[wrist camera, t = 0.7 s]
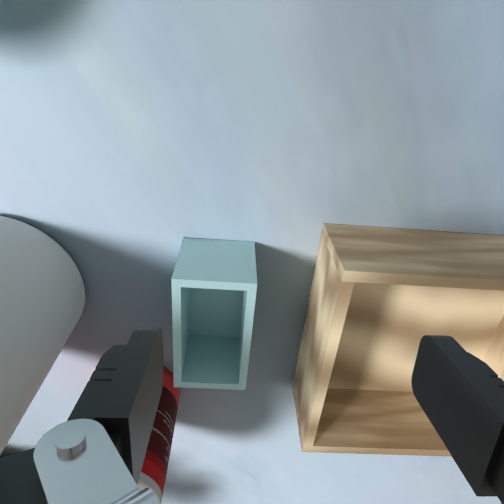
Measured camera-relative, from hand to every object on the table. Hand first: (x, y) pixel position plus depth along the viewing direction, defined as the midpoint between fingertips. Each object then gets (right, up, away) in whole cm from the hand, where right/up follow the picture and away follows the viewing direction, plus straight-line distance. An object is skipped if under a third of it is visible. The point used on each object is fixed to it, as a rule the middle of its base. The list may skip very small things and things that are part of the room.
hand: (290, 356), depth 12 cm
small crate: (-4, 0, +21) cm, 21 cm away
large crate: (+13, -3, +23) cm, 26 cm away
